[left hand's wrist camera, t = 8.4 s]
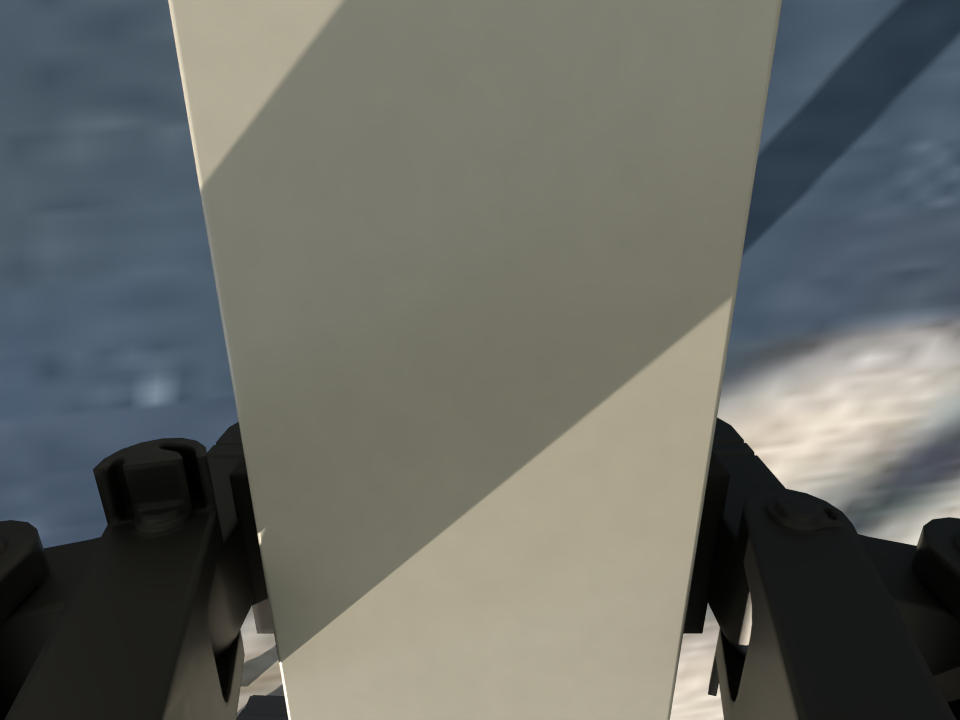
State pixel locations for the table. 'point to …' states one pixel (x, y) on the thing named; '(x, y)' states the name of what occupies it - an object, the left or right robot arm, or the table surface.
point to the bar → (477, 331)
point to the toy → (264, 708)
